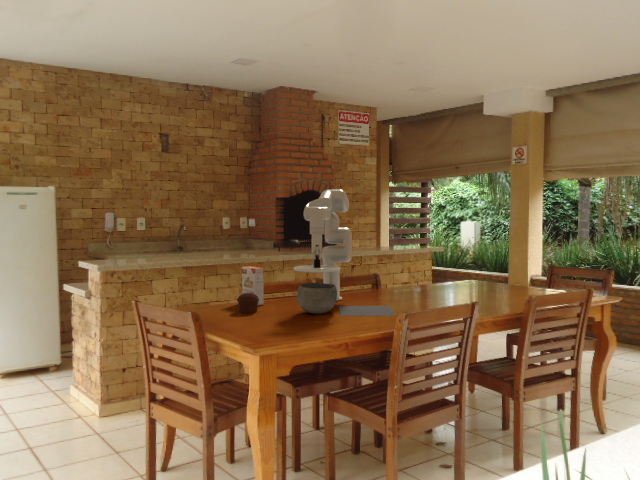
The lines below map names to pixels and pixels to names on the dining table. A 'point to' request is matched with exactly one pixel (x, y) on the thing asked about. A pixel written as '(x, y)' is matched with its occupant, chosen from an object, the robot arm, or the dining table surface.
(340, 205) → the robot arm
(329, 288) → the bowl
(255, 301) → the muffin
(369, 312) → the mat
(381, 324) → the dining table surface
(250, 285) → the cracker box
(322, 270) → the lid
